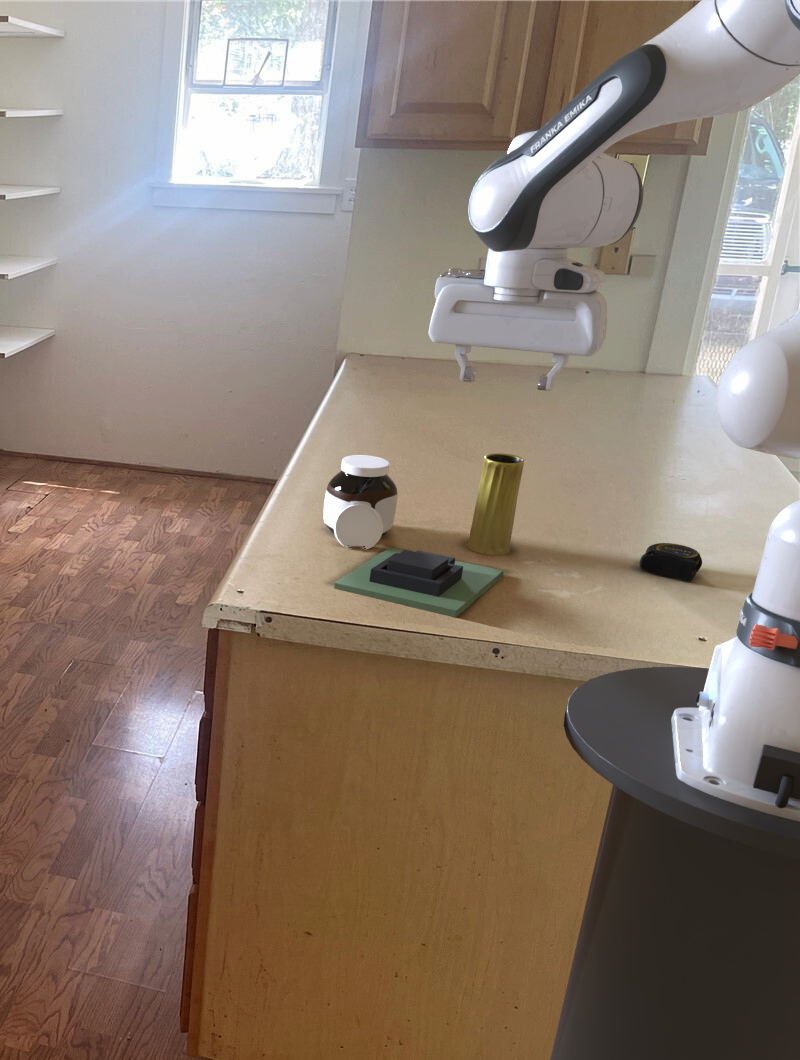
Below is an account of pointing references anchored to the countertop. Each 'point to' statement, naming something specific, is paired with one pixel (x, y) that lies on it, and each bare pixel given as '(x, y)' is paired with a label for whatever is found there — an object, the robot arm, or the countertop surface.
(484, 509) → the vase
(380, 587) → the socket mat
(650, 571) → the tape measure
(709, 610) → the countertop surface
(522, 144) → the robot arm
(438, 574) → the plug
